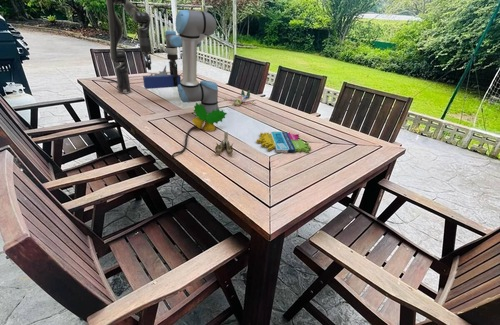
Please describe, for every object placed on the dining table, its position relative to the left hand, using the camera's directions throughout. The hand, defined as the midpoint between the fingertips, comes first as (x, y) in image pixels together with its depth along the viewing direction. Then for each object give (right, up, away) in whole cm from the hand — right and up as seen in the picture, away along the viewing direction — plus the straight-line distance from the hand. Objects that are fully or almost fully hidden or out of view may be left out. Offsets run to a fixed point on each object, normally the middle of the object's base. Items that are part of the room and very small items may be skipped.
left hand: (148, 68), depth 191 cm
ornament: (+49, -47, -26) cm, 73 cm away
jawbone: (+61, -63, -52) cm, 102 cm away
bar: (+7, -10, +11) cm, 17 cm away
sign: (+93, -57, -38) cm, 116 cm away
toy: (+67, -17, +30) cm, 76 cm away
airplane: (-21, +20, +85) cm, 90 cm away
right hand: (+15, -8, +15) cm, 23 cm away
